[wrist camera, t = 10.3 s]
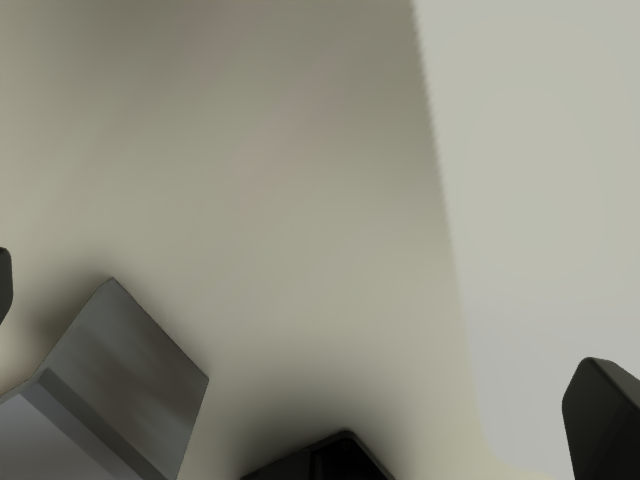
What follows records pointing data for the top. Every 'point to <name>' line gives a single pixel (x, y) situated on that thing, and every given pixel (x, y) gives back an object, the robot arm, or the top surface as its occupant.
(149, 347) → the brown wooden open box
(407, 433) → the top surface
